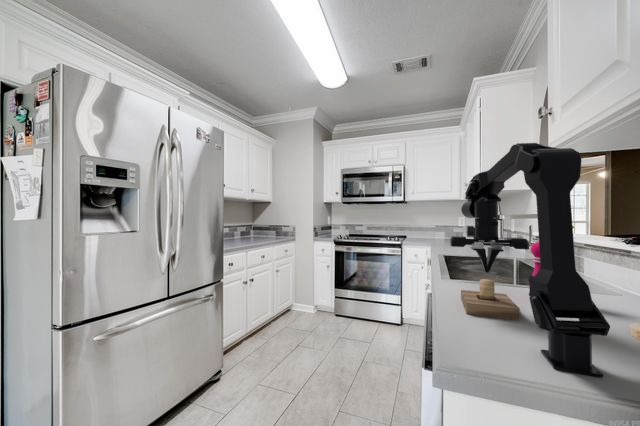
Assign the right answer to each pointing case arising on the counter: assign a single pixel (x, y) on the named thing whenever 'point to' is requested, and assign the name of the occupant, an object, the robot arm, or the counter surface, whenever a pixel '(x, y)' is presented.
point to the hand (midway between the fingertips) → (486, 272)
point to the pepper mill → (536, 257)
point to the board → (490, 305)
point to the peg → (487, 290)
